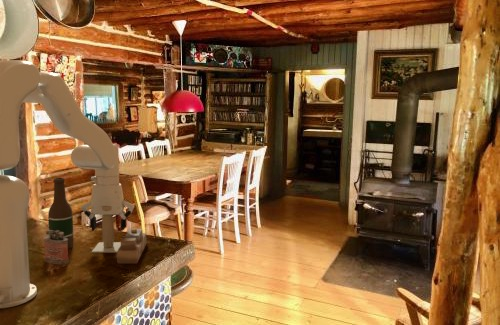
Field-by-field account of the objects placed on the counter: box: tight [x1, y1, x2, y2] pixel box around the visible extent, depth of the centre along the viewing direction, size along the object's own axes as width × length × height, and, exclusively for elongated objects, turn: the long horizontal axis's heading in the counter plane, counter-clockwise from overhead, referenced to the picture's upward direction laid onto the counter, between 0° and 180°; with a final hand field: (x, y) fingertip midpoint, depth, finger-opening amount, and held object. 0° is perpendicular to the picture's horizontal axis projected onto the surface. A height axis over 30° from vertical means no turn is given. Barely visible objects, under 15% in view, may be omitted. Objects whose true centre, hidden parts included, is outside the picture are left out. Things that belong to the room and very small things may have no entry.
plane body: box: [116, 228, 147, 264], centre depth 139 cm, size 18×6×7 cm, turn 5°
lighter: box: [43, 229, 70, 265], centre depth 130 cm, size 8×3×10 cm, turn 74°
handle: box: [101, 206, 115, 248], centre depth 142 cm, size 5×6×15 cm
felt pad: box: [91, 241, 121, 254], centre depth 144 cm, size 9×9×1 cm
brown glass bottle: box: [47, 177, 74, 250], centre depth 142 cm, size 8×8×24 cm
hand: (108, 229), depth 143 cm, fingers open, 9 cm apart
